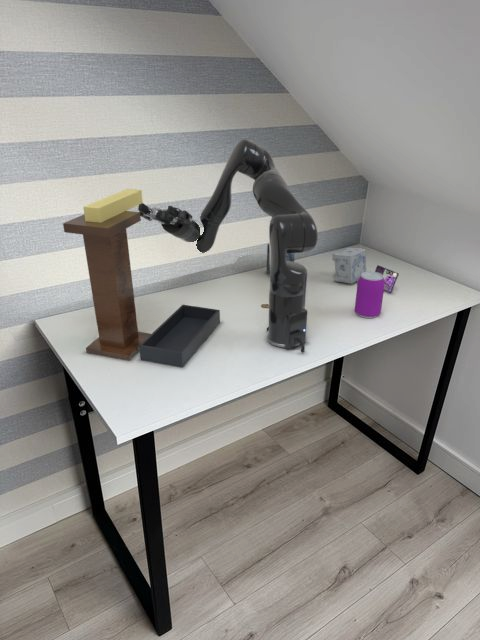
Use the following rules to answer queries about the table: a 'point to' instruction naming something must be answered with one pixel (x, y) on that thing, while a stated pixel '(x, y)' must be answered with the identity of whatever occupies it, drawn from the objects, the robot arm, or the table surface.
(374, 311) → the beverage can
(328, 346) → the table surface
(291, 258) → the box
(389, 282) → the game card
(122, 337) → the shelf stand
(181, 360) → the pan
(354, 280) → the incense holder
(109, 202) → the butter
